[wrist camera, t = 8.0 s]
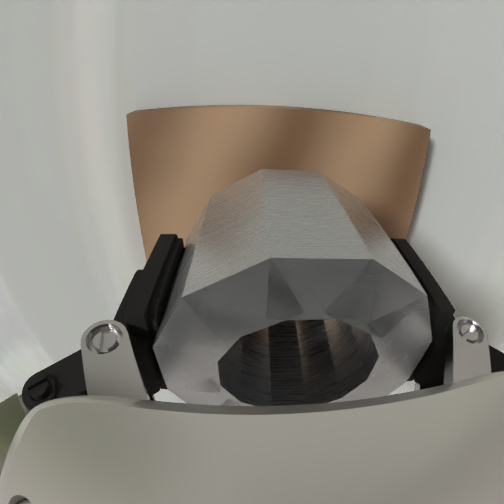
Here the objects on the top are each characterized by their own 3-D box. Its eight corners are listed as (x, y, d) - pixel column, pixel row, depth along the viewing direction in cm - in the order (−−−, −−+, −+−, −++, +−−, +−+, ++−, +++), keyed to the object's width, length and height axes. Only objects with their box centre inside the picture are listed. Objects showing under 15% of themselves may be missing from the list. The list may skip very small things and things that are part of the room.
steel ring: (390, 177, 9) (472, 259, 5) (351, 324, 13) (379, 418, 9) (181, 169, 9) (126, 255, 5) (197, 324, 13) (182, 425, 9)
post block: (419, 124, 13) (496, 162, 7) (381, 282, 18) (416, 357, 13) (136, 110, 13) (66, 140, 7) (158, 279, 18) (129, 359, 13)
